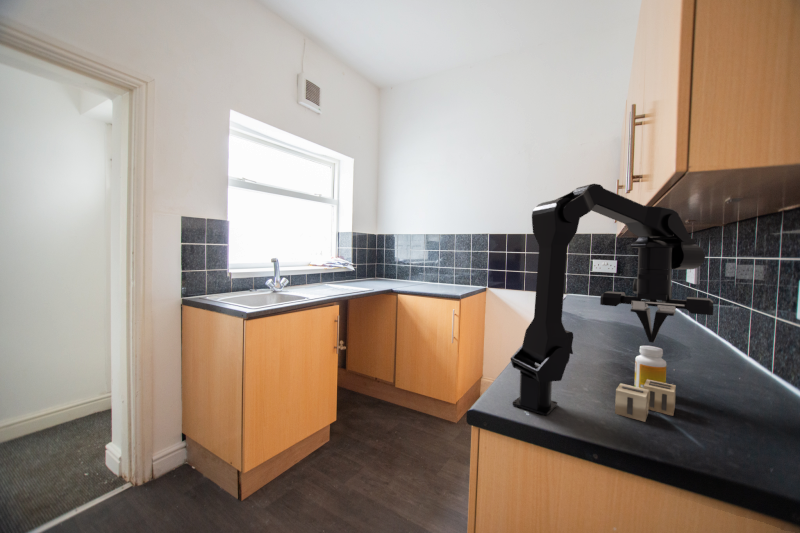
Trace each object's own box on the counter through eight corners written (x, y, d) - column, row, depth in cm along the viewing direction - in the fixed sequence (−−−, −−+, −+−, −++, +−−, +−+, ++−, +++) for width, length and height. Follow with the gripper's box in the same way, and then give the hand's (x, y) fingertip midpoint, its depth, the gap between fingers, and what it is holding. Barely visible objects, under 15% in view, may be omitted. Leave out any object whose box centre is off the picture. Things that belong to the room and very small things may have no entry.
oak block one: (644, 422, 59) (645, 396, 58) (614, 414, 62) (615, 389, 61) (648, 413, 62) (649, 389, 62) (619, 406, 65) (620, 382, 65)
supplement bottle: (672, 398, 69) (674, 351, 69) (645, 397, 69) (647, 351, 69) (652, 387, 74) (654, 344, 74) (628, 387, 74) (630, 344, 74)
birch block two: (673, 416, 61) (674, 391, 61) (642, 408, 64) (643, 385, 64) (674, 408, 64) (675, 384, 64) (646, 401, 67) (646, 378, 67)
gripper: (713, 270, 71) (710, 343, 71) (611, 267, 83) (609, 329, 84) (714, 271, 62) (711, 354, 63) (600, 268, 75) (598, 337, 75)
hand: (651, 342), depth 71 cm, fingers closed
